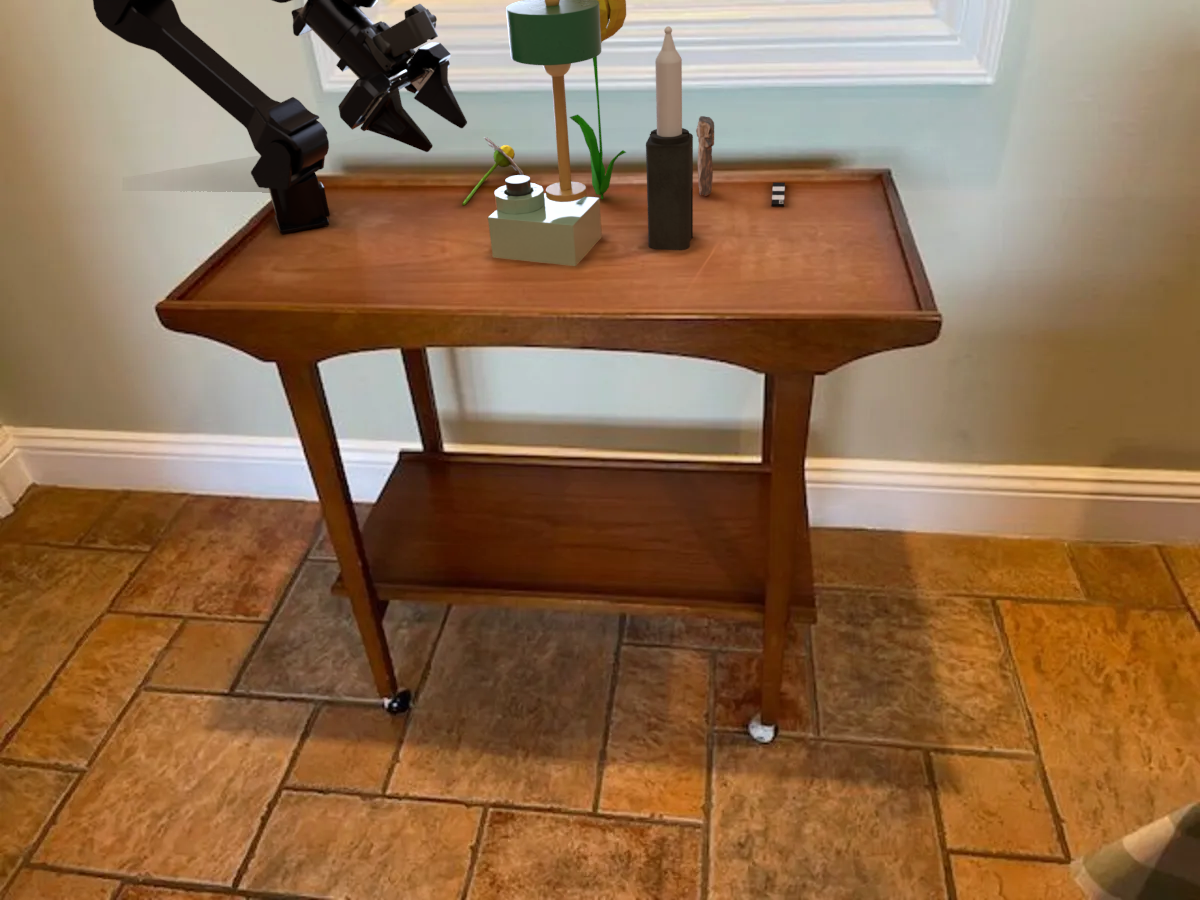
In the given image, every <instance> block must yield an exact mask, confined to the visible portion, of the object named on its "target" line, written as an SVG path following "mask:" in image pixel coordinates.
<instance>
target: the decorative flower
mask: <svg viewBox="0 0 1200 900" xmlns="http://www.w3.org/2000/svg"><path fill="white" fill-rule="evenodd" d="M483 139H484V140H485V141H486V142H487V145H488V146H489V147H491V148H492V149H493V150H494V152H493V157H492V158H493V160H494V164H493V166H491V168H490V169H489V170H488V171H487V172H486V173H485V174H484V176H483V177H482V178H481V179H480V180H479V182H477V184H476V185H475V187H474V188H472V190H471V192H470V193H469V194H468V195H467V197H466V198H465V199H464V201H463V202H462V203H461V206H466V205H467V204H468V203H469V201H470V200H471V199H472V197H473V196H474V195H475V193H476V192H477V191H478V189H479V188H480V187H481V186H482V184H483V183H484V182H485V181H486V180H487V179H488V178H489V176H490V175H491V174H492V173H493V172H494V171H495V170H496V169H497V167H498V166H499V167H500V168H509V167H512V169H513V170H514V171H515V172H518V173H519V175H524V171H523V169H521V168H520V167H519V166H518V165H517V164H516V162H515V160H514V159H515V153H516V152H515V150H514V148H513V147H512V146H511V145H507V144H504V145H501V146H499V145H497V144H495V143H494V142H493V141H492V140H491V139H490V138H489V137H485V136H483Z"/></svg>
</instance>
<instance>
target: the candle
mask: <svg viewBox="0 0 1200 900" xmlns="http://www.w3.org/2000/svg"><path fill="white" fill-rule="evenodd" d="M663 31H664V38H663V41H662V45H661V49H660V51H659V53H658V54H657V56H656V58H655V104H656V105H655V108H656V129H653V130H651V131H650V133H649V136H648V138H647V141H646V142H645V162H646V197H647V198H646V202H647V203H646V204H647V206H646V207H647V239H648V240H647V241H648V243H647V244H648V248H649V249H652V250H657V251H661V250H662V251H686V250H688V249H690V248H691V239H693V236H694V135H693V133H691V132H690V131H689V130H688V129H687V128H683V69H682V68H683V62H682V61H683V59H682V56H681V55H680V53H679V52H678V50H677V49H676V45H675V42H674V39H673V35H672V32H673V29H672V27H671V26H668V25H667V26H666V27H664V30H663Z"/></svg>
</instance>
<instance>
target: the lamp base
mask: <svg viewBox="0 0 1200 900" xmlns="http://www.w3.org/2000/svg"><path fill="white" fill-rule="evenodd" d="M531 192H532V193H531V194H528V195H525V196H517V197H516V196H508V195H507V191H506V184H505V185H502V186H499V187H497V189H495V190H494V192H493V193H494V201H495V208H496V210H494V211H493V212H492V213H491V214H490V215H488V216H487V222H488V231H489V238H490V239H489V240H490V247H491V256H492V258H494V259H505V260H511V261H523V262H532V263H540V264H550V265H561V266H569V267H577V266H578V264H579V263H580V262H581V261H582V260H583V259H584V258H585V257H586V256H587V255H588V253H589V252H590V251H591V250H593V248H594V247H595V246H596V244H598V242H599V241H600V240H601V239H602V238H603V235H602V218H601V216H602V215H601V197H596V196H595V197H594V196H585V197H583V198H582V199H579V200H576V201H571V202H556V201H552V200H549V199H548V198H547V197H546V192H545V190H544V187H543V186H542V185H540V184H537V183H534V182H531Z"/></svg>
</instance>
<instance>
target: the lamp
mask: <svg viewBox="0 0 1200 900" xmlns="http://www.w3.org/2000/svg"><path fill="white" fill-rule="evenodd" d="M505 15H506V23H507V33H508V44H509V45H508V46H509V51H510V53H509V54H510V59H511V60H512V61H513V62H515V63H520V64H523V65H531V66H542V67H543V70H544V71H545V72H546V74H548V75H549V76H551V89H552V100H553V101H552V102H553V103H552V104H553V116H554V126H555V127H554V129H555V141H556V155H557V156H556V157H557V167H558V179H559V180H558V182H555V183H552V184H550V185H548V186H547V187H546V189H545V193H546V197H547V198H548V199H549V200H552V201H556V202H571V201H576V200H579V199H582V198H583V197H587V185H585V184H584V183H582V182H578V181H572V170H571V156H570V143H569V128H568V126H569V125H568V113H567V112H568V111H567V100H566V87H565V85H566V84H565V75H566V74H567V73H568V72H569V71H570V69H571V66H572V64H575V63H581V62H586V61H589V60H593V58H594V57H596V56H597V57H599V55H600V54H602V43H601V30H600V9H599V1H598V0H519V1H515V2H513V3H510V4H509V5H507V6H506V8H505Z"/></svg>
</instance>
